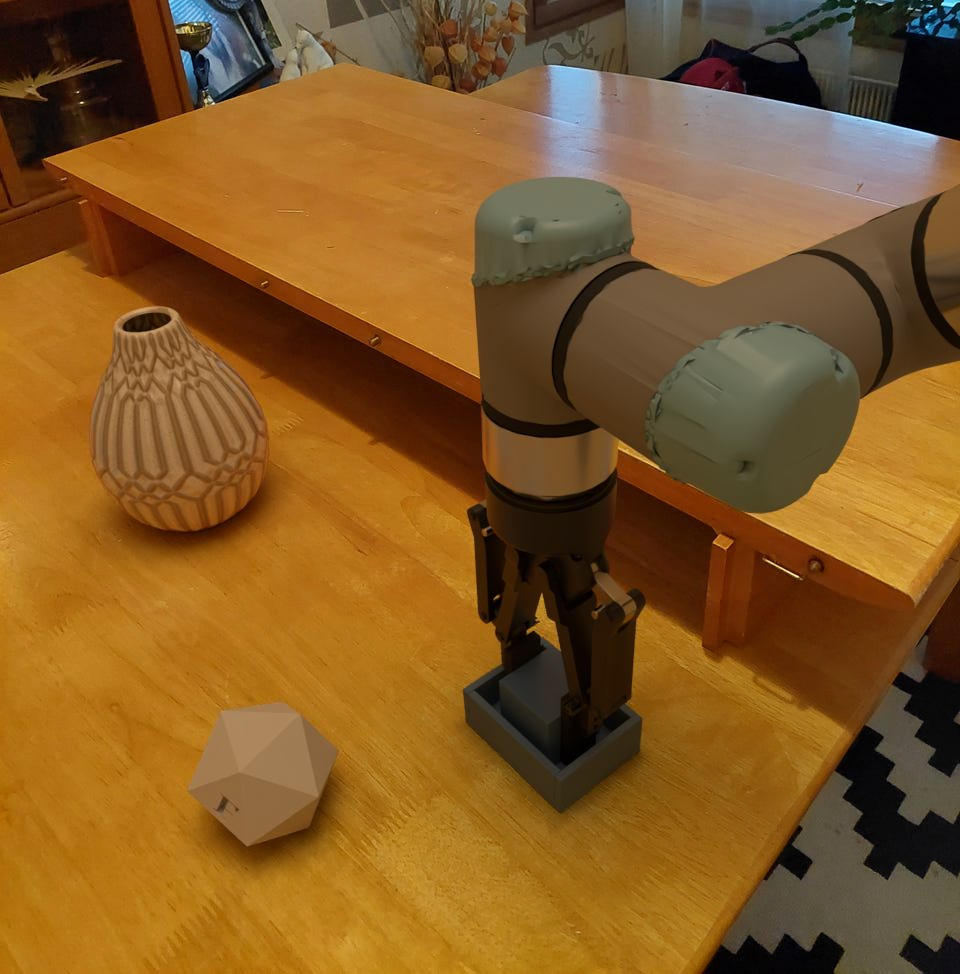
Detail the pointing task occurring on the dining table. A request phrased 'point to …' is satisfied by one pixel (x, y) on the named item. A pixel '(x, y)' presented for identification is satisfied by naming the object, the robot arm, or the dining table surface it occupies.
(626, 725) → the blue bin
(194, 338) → the vase
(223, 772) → the die
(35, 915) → the dining table surface
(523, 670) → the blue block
